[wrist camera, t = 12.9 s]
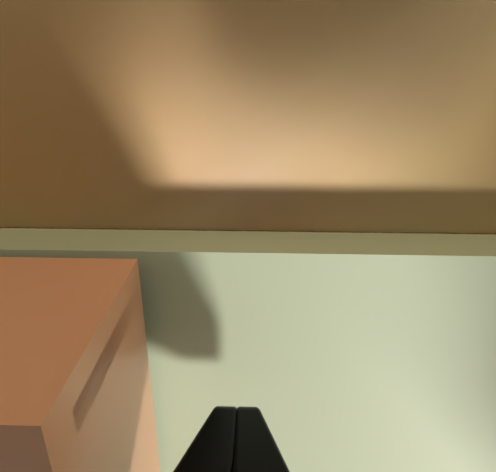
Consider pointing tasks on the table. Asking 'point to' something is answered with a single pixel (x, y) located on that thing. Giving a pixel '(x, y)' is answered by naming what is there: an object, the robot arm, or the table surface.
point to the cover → (74, 367)
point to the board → (314, 339)
